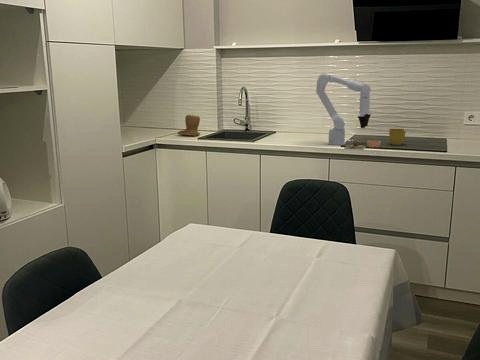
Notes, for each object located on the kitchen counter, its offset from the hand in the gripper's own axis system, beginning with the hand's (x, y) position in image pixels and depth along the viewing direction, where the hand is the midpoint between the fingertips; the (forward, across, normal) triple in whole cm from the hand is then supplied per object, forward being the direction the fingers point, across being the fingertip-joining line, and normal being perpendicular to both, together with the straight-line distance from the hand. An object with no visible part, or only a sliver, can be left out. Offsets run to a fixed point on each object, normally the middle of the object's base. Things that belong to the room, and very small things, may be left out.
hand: (364, 127), depth 293 cm
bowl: (+10, -6, -7) cm, 14 cm away
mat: (+10, -14, +2) cm, 17 cm away
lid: (+10, -14, +2) cm, 17 cm away
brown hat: (+9, 0, +122) cm, 123 cm away
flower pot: (+11, +5, -18) cm, 22 cm away
